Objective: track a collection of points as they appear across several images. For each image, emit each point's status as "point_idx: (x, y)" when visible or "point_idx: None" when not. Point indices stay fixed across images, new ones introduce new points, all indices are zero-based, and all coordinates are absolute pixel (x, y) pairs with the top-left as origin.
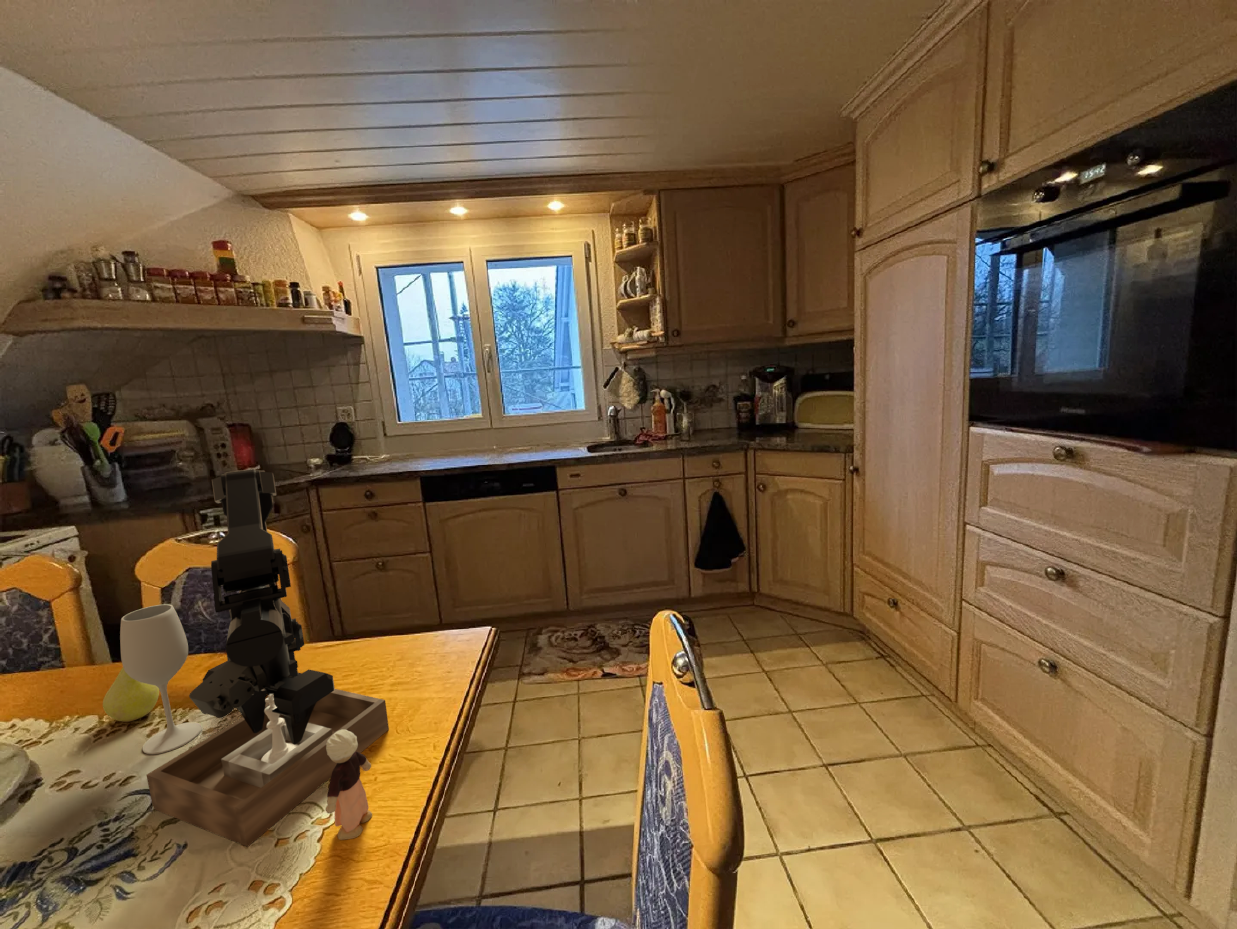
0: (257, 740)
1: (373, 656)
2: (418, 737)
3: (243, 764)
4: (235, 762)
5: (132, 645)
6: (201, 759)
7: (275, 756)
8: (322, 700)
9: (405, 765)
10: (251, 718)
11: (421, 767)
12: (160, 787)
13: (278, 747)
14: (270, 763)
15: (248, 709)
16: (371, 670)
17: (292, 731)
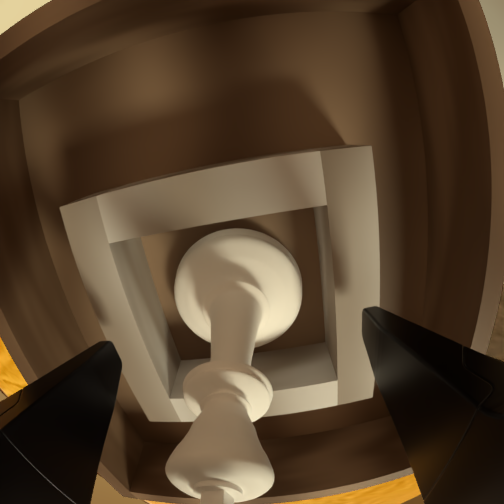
0: (346, 292)
1: (401, 492)
2: None
3: (221, 175)
4: (278, 163)
5: None
6: (451, 122)
7: (216, 282)
8: (337, 459)
9: (19, 375)
10: (400, 357)
11: (4, 377)
12: None
13: (214, 311)
14: (208, 254)
15: (432, 397)
16: (372, 488)
17: (39, 378)
